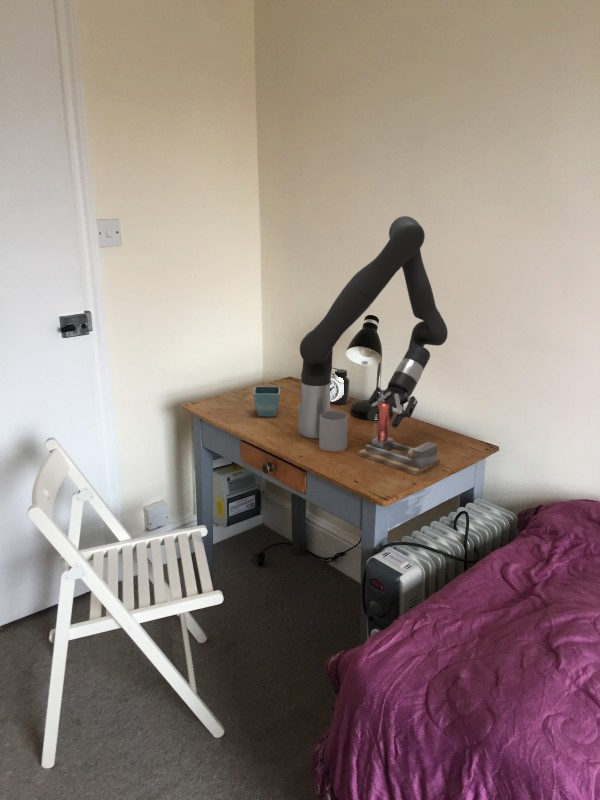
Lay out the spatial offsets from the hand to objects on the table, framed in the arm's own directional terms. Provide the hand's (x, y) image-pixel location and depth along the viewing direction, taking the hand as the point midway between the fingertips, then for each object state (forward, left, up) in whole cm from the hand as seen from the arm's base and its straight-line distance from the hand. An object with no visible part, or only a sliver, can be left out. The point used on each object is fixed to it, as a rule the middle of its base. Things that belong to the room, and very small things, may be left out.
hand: (381, 423), depth 189 cm
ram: (0, +1, -8) cm, 8 cm away
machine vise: (+6, +1, -10) cm, 12 cm away
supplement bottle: (-40, +29, -10) cm, 50 cm away
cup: (-14, -5, -10) cm, 18 cm away
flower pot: (-49, +1, -10) cm, 50 cm away
